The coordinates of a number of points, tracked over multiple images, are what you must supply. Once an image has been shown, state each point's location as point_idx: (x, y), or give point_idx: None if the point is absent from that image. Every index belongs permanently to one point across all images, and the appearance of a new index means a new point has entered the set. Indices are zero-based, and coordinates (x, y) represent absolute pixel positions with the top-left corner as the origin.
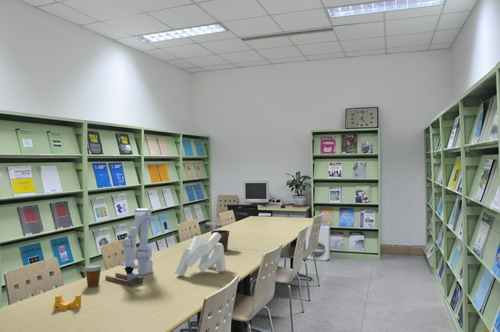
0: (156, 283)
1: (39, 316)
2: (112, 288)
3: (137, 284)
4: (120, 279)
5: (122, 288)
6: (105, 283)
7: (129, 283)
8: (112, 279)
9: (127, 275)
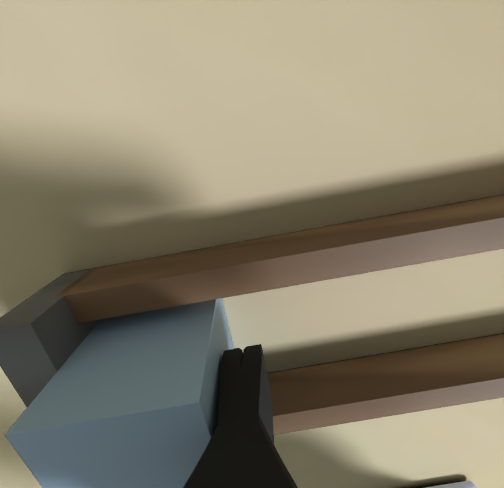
0: (26, 478)
1: None
2: (157, 8)
3: None
4: (323, 260)
5: (55, 141)
6: (494, 68)
7: (88, 283)
8: (499, 205)
9: (186, 381)
